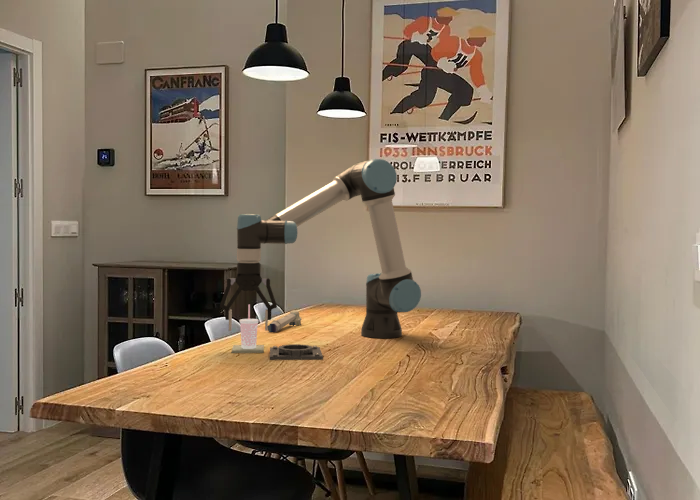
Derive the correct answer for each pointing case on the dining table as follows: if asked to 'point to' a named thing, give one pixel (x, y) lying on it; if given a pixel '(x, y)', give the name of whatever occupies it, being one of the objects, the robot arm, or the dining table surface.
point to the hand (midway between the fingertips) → (248, 330)
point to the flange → (295, 352)
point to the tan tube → (285, 321)
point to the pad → (240, 350)
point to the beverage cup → (248, 331)
